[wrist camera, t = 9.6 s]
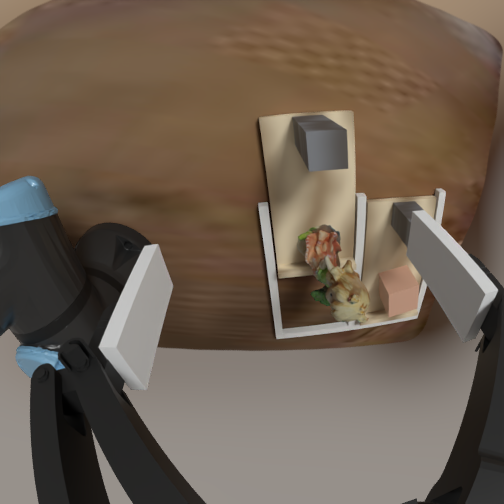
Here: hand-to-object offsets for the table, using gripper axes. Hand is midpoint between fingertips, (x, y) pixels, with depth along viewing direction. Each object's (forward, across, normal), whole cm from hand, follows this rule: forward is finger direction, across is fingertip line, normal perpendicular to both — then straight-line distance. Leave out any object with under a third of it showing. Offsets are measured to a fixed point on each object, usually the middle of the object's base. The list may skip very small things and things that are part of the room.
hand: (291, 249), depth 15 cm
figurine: (+23, +6, -15) cm, 28 cm away
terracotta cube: (+21, +18, -22) cm, 36 cm away
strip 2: (+22, +18, -20) cm, 35 cm away
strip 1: (+23, +5, -8) cm, 25 cm away
